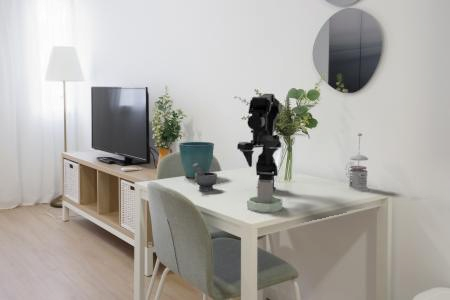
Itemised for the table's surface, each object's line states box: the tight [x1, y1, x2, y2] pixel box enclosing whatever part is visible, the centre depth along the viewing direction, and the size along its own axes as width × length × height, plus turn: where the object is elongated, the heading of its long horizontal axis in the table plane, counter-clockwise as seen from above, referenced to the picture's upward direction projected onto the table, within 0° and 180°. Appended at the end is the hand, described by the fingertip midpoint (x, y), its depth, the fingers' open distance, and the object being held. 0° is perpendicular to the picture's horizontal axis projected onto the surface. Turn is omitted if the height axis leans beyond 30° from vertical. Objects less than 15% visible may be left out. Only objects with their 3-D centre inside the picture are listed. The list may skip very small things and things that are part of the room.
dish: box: [246, 195, 284, 213], centre depth 171 cm, size 13×13×3 cm
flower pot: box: [178, 141, 215, 179], centre depth 233 cm, size 18×18×17 cm
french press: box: [345, 132, 369, 192], centre depth 204 cm, size 10×12×25 cm
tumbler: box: [256, 180, 274, 204], centre depth 170 cm, size 6×6×10 cm
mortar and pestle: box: [193, 163, 218, 192], centre depth 202 cm, size 11×9×12 cm
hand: (259, 165), depth 187 cm, fingers open, 9 cm apart
